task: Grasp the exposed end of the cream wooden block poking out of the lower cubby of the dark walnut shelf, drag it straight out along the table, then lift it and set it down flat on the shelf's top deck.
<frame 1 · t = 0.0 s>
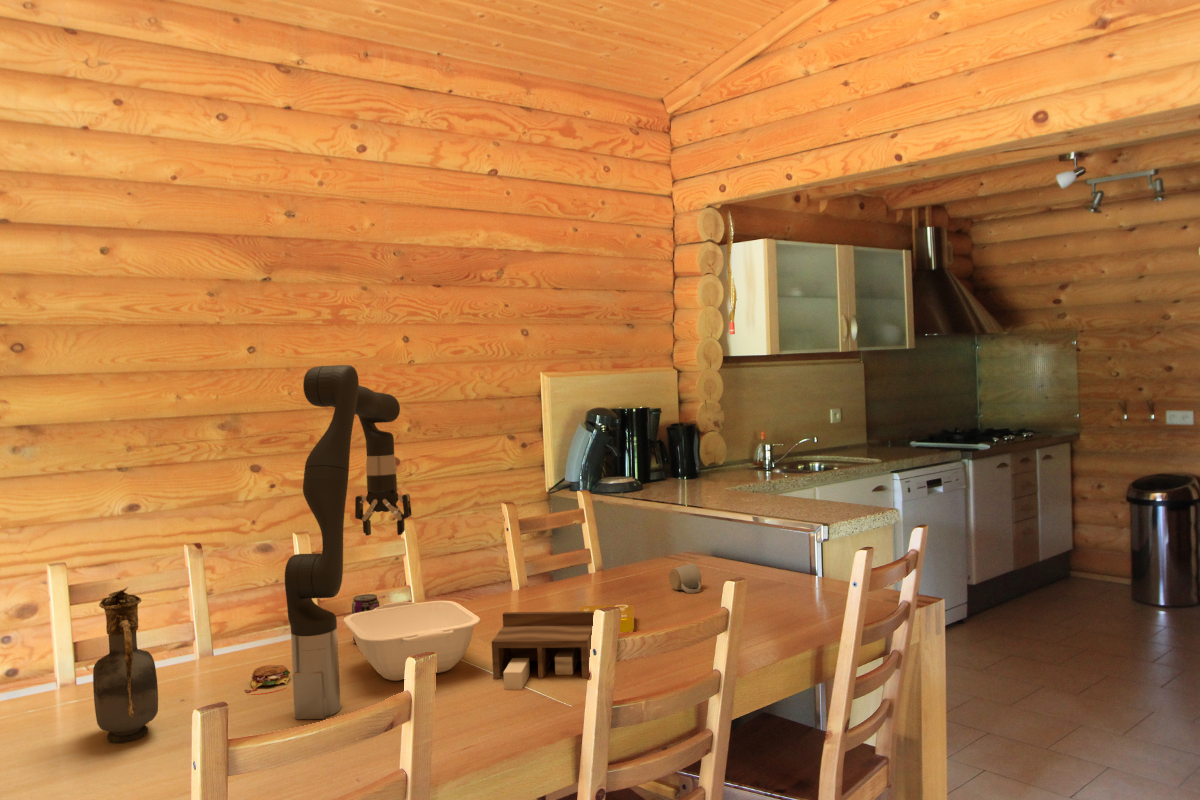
hand: (384, 534, 232), 29 cm above the table, fingers open, 8 cm apart
pitcher: (128, 739, 177), on the table
hamburger: (265, 687, 207), on the table
walnut shelf: (545, 668, 210), on the table
cream block: (517, 682, 202), on the table
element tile: (606, 628, 244), on the table
beverage can: (367, 642, 238), on the table
ceramic mug: (688, 590, 281), on the table
white plastic basin: (413, 670, 214), on the table
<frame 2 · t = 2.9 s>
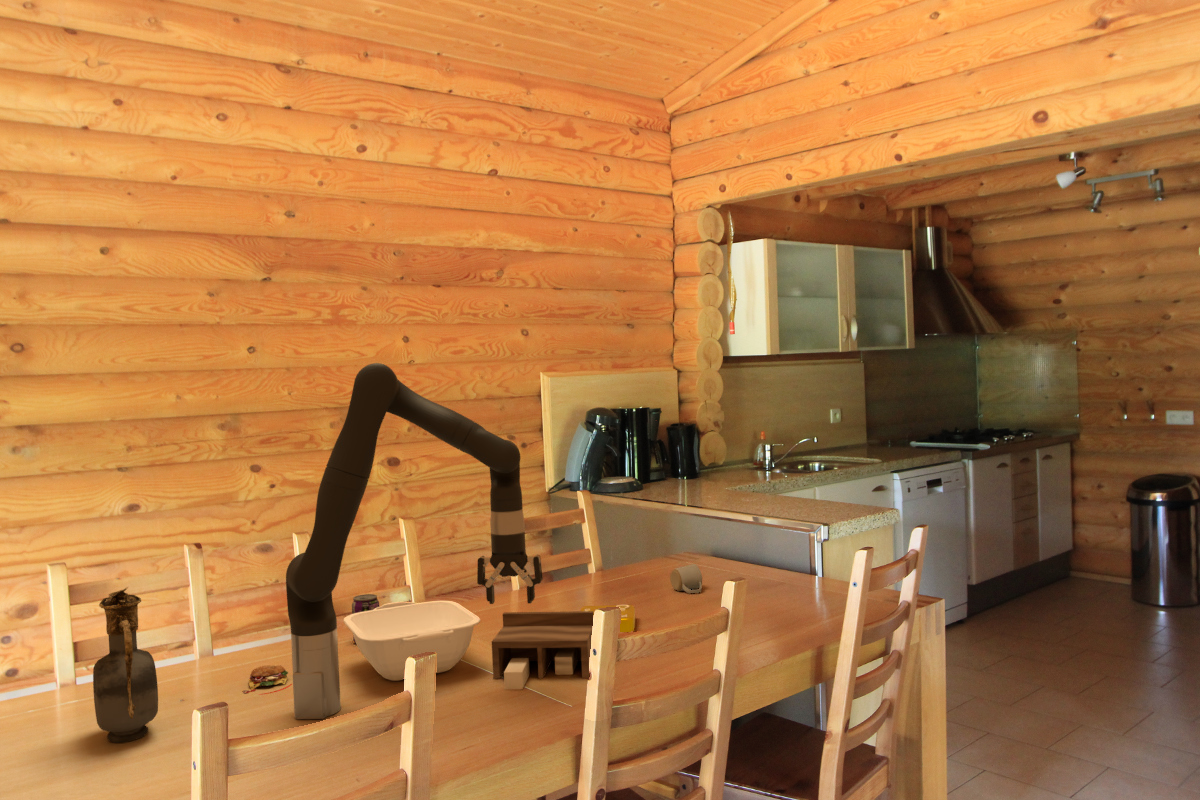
hand: (511, 602, 198), 19 cm above the table, fingers open, 8 cm apart
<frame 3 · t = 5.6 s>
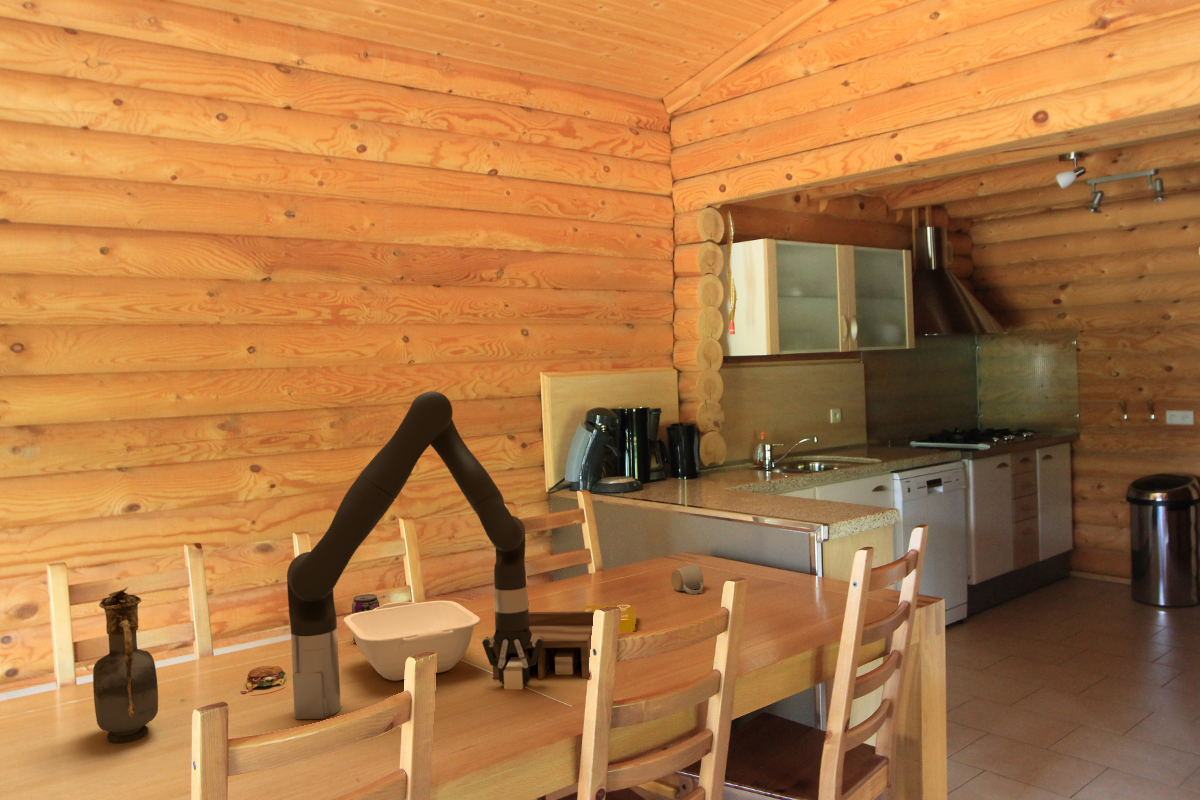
hand: (514, 683, 199), 1 cm above the table, fingers closed on cream block, 4 cm apart
cream block: (516, 681, 202), on the table, touching gripper
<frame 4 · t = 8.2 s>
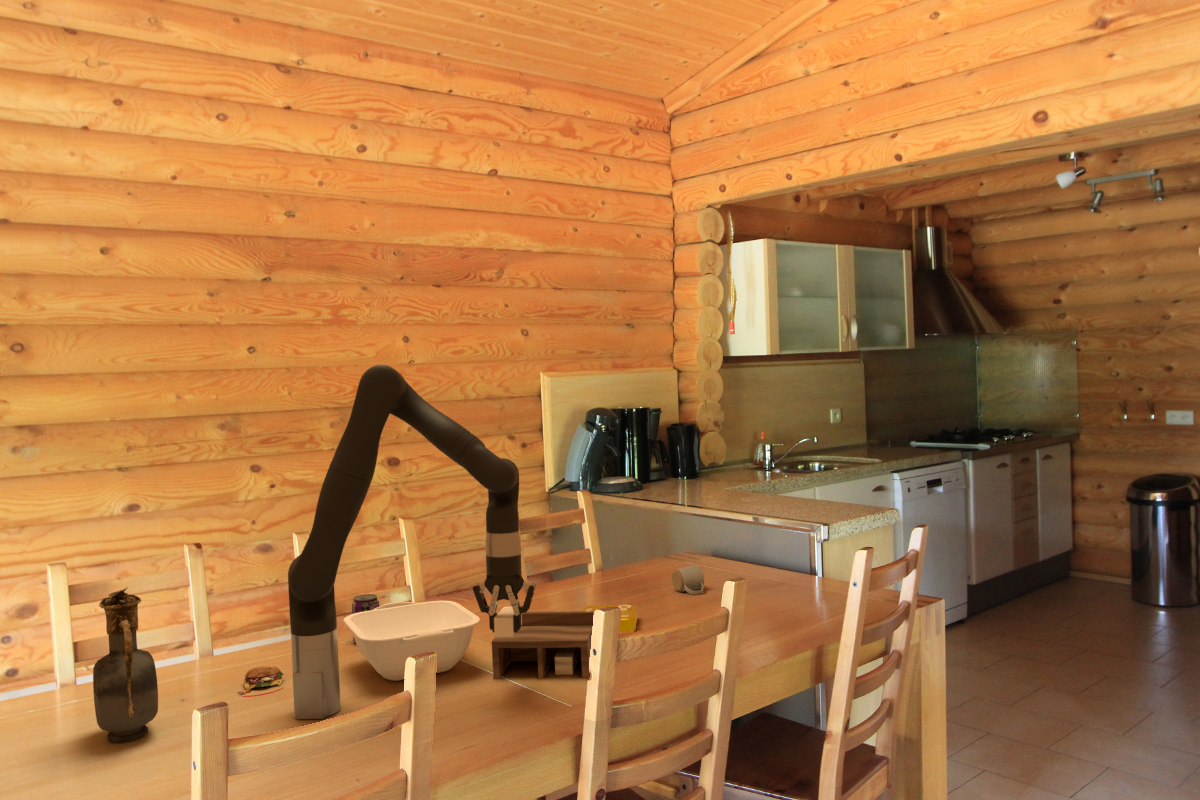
hand: (505, 631, 192), 14 cm above the table, fingers closed on cream block, 4 cm apart
cream block: (508, 630, 195), point 13 cm above the table, touching gripper
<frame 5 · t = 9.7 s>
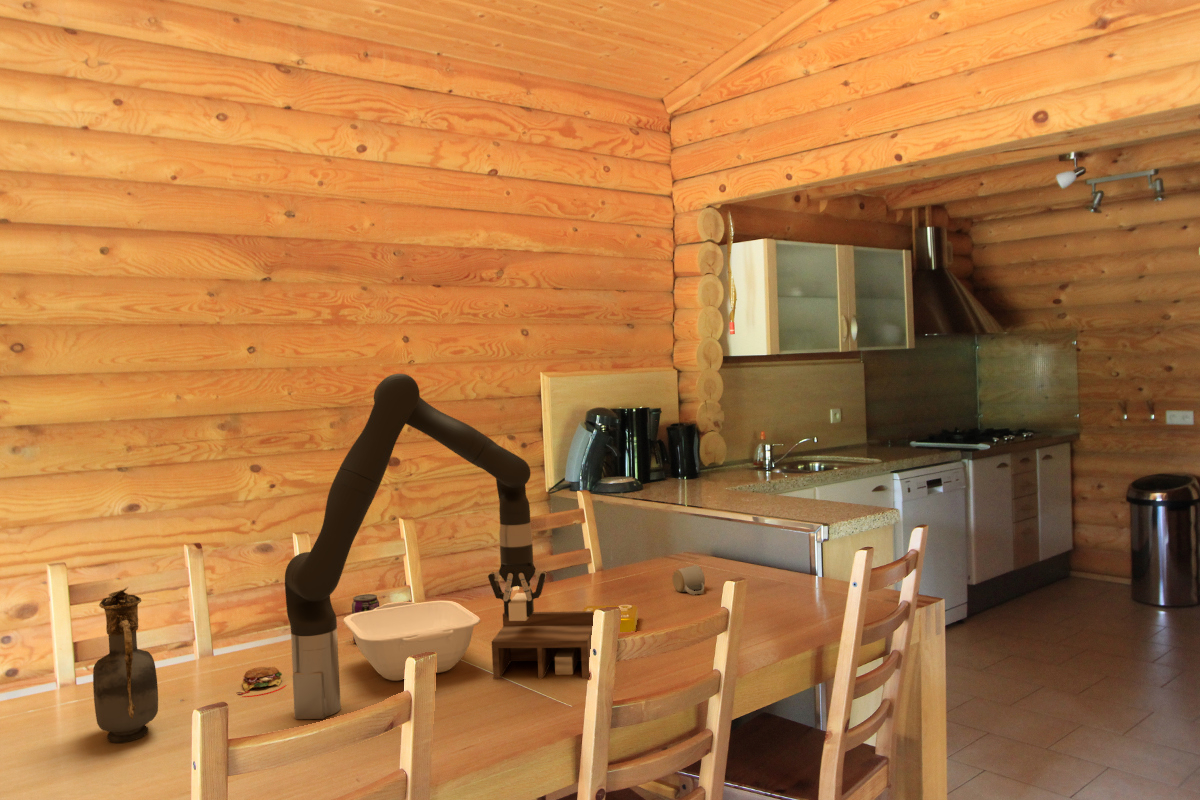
hand: (519, 615, 207), 13 cm above the table, fingers closed on cream block, 4 cm apart
cream block: (521, 615, 210), point 13 cm above the table, touching gripper
when the fingers open (10 cm above the table, at t = 10.9 s): cream block drops 1 cm, resting on walnut shelf.
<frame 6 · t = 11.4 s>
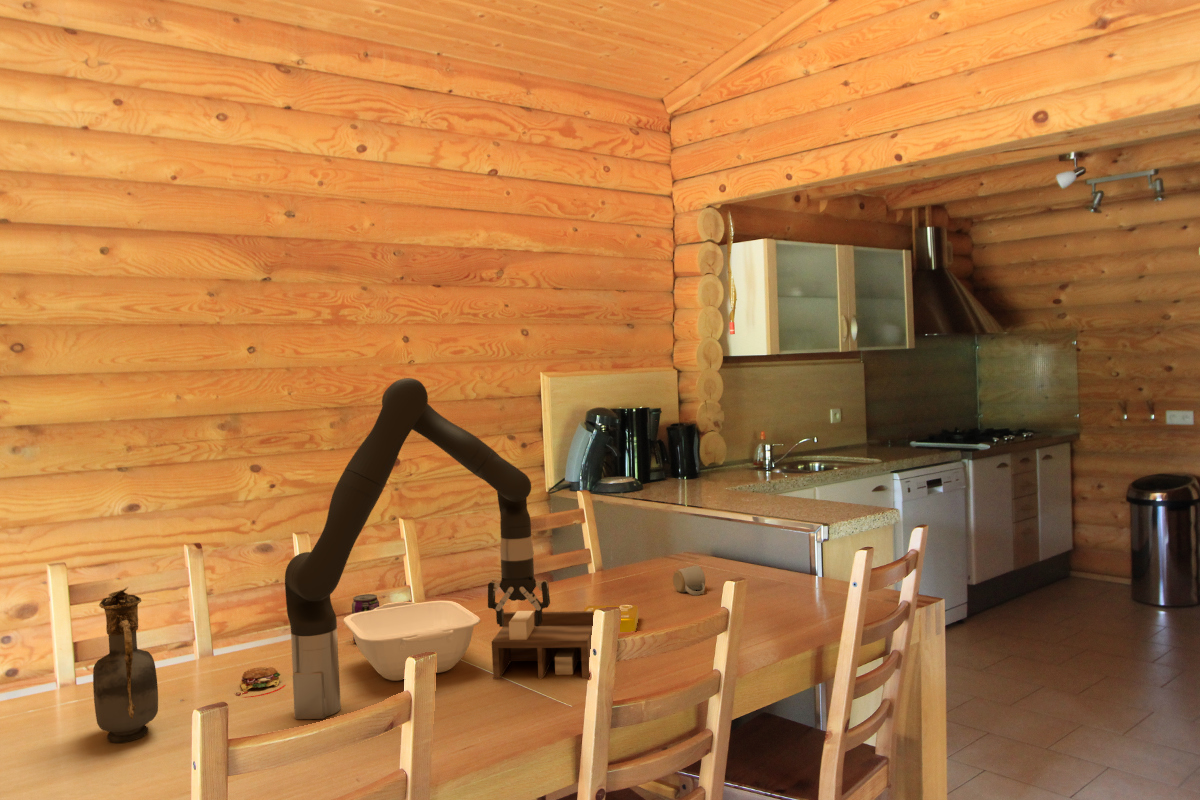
hand: (519, 625, 207), 11 cm above the table, fingers open, 8 cm apart
cream block: (522, 633, 210), point 8 cm above the table, touching walnut shelf
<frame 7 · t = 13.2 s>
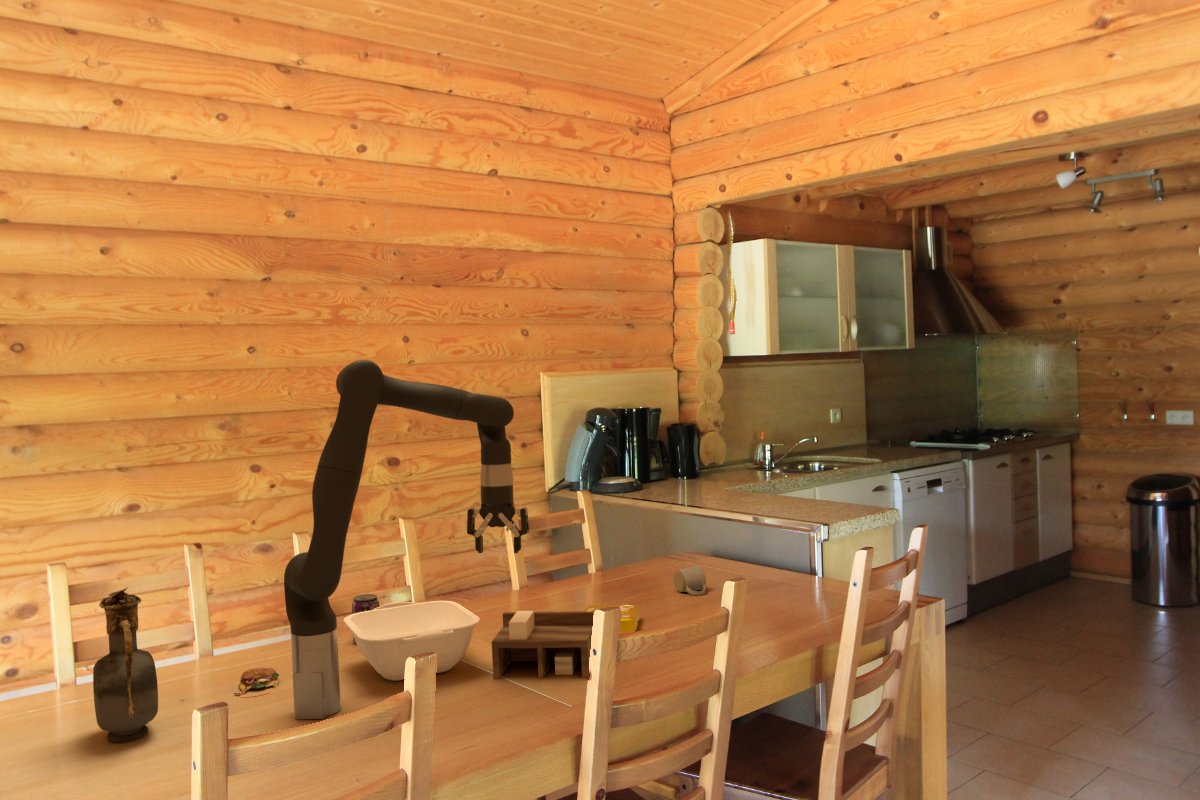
hand: (498, 552, 208), 28 cm above the table, fingers open, 8 cm apart
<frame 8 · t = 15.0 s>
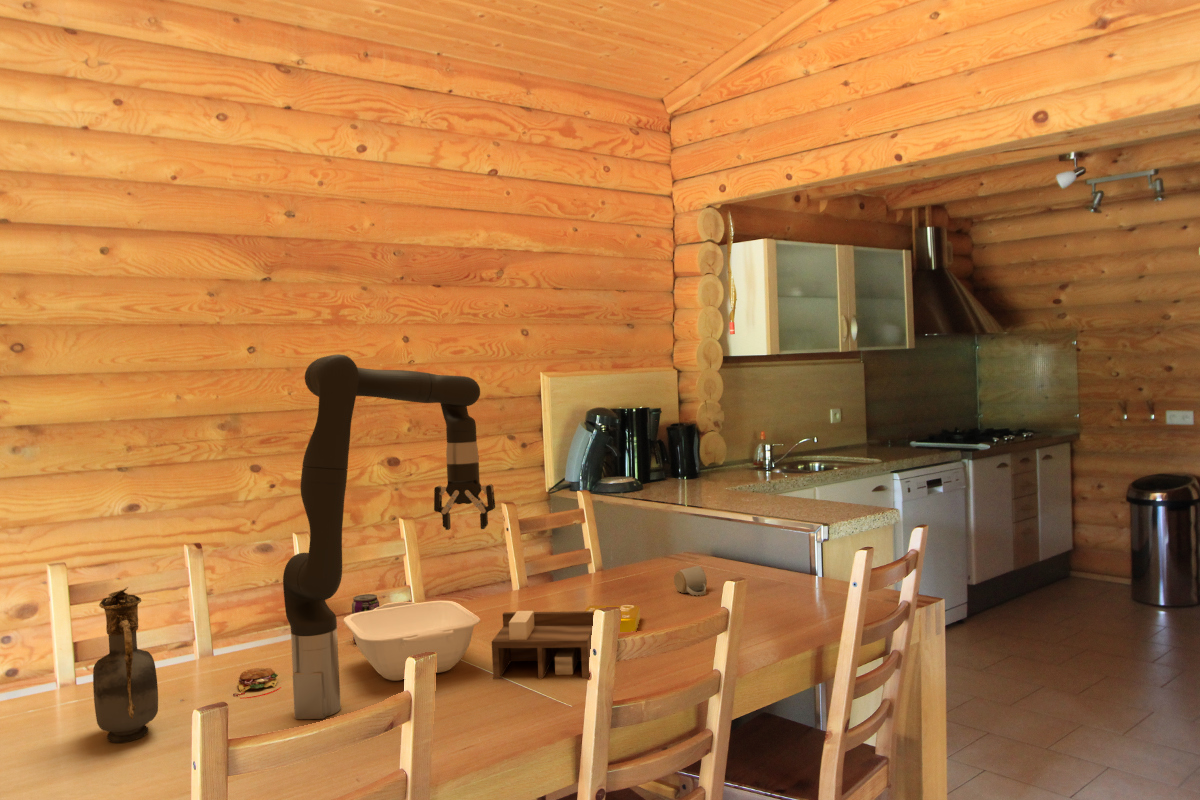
hand: (465, 529, 212), 33 cm above the table, fingers open, 8 cm apart
at the end: cream block inside the target area on the walnut shelf (5.1 cm from its centre), point 8.5 cm above the walnut shelf's base; cream block tilted 0°; the gripper is holding nothing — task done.
